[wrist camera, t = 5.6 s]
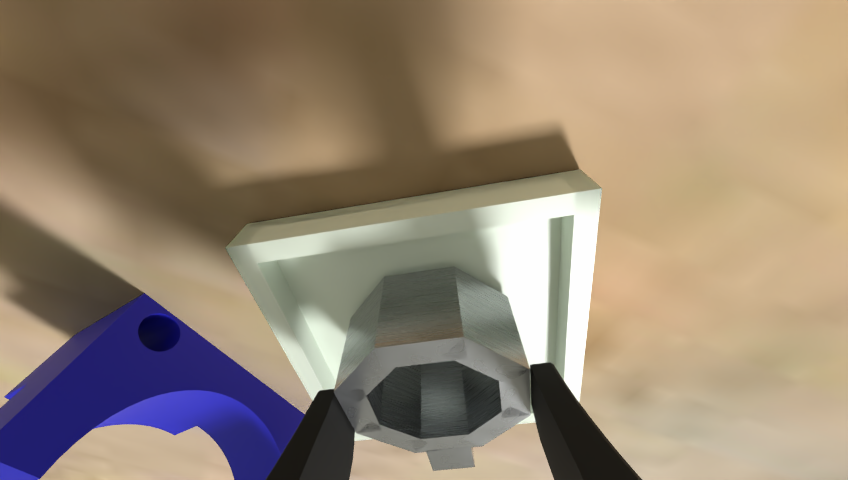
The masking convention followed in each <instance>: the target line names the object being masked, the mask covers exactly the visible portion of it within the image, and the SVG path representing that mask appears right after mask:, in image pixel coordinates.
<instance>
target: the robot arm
mask: <svg viewBox="0 0 848 480" xmlns="http://www.w3.org/2000/svg"><path fill="white" fill-rule="evenodd" d="M530 381H531V405H532V409H533V413H534V417H535V421H536V425H537V429H538V433H539V437H540V440H541V443H542V446H543V449H544V452H545V455H546V457H547V460H548V463H549V466H550V469H551V472H552V474H553V477H554V480H642V479H641V478H640V477H639V476H638V475H637V474H636V472H635V471H634V470H633V469H632V468H631V467H630V465H629V464H628V463H627V462H626V461H625V460H624V458H623V457H622V456H621V455H620V454H619V453H618V451H617V450H616V449H615V448H614V447H613V445H612V444H611V443H610V442H609V441H608V439H607V438H606V437H605V436H604V434H603V433H602V432H601V431H600V429H599V428H598V427H597V425H596V424H595V423H594V422H593V420H592V419H591V418H590V417H589V415H588V414H587V413H586V411H585V410H584V409H583V407H582V406H581V404H580V403H579V402H578V400H577V399H576V398H575V396H574V395H573V393H572V392H571V390H570V389H569V388H568V386H567V385H566V383H565V382H564V380H563V379H562V377H561V375H560V374H559V372H558V371H557V369H556V367H555V366H554V364H552V363H551V362H548V363H540V364H532V365H530ZM354 438H355V430H354V428H353V426H352V424H351V423H350V421H349V419H348V417H347V415H346V414H345V412H344V410H343V408H342V406H341V405H340V403H339V401H338V399H337V397H336V395H335V394H334V389H328V390H320V391H319V392H318V393H317V395H316V396H315V398H314V400H313V402H312V403H311V405H310V407H309V409H308V410H307V412H306V414H305V416H304V417H303V419H302V421H301V423H300V424H299V426H298V428H297V429H296V431H295V433H294V434H293V436H292V438H291V440H290V441H289V443H288V444H287V446H286V448H285V449H284V451H283V453H282V454H281V456H280V457H279V459H278V461H277V462H276V464H275V466H274V467H273V469H272V470H271V472H270V473H269V475H268V476H267V478H266V479H265V480H349V477H350V472H351V466H352V460H353V450H354Z"/></svg>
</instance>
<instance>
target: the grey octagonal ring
mask: <svg viewBox="0 0 848 480" xmlns="http://www.w3.org/2000/svg"><path fill="white" fill-rule="evenodd" d="M452 360H454V361H452ZM444 361H447V362H444ZM436 362H439V363H436ZM428 363H431V364H428ZM421 364H423V365H421ZM334 394H335V395H336V397H337V399H338V401H339V403H340V405H341V406H342V408H343V410H344V412H345V414H346V415H347V417H348V419H349V421H350V423H351V424H352V426H353V428H354V430H355V432H356V433H357V434H360V435H363V436H366V437H369V438H372V439H375V440H378V441H381V442H384V443H387V444H390V445H393V446H396V447H399V448H402V449H405V450H408V451H411V452H414V453H419V452H427V455H428V458H429V460H430V463H431V466H432V469H433V471H436V470H447V469H457V468H468V467H475V464H474V455H473V447H480V446H483V445H485V444H487V443H488V442H490V441H491V440H493V439H494V438H496V437H497V436H499V435H501V434H502V433H504V432H505V431H507V430H508V429H510V428H511V427H513V426H515V425H516V424H518V423H519V422H521V421H522V420H524V419H525V418H527V417H529V416H530V415H531V409H530V367H529V364H528V361H527V358H526V355H525V351H524V348H523V345H522V342H521V338H520V335H519V332H518V329H517V326H516V322H515V319H514V316H513V313H512V309H511V306H510V303H509V300H508V297H507V296H506V295H504V294H502V293H500V292H499V291H497V290H495V289H493V288H492V287H490V286H488V285H486V284H485V283H483V282H481V281H479V280H478V279H476V278H474V277H472V276H470V275H469V274H467V273H465V272H463V271H462V270H460V269H458V268H456V267H455V266H453V267H446V268H439V269H432V270H425V271H418V272H412V273H405V274H398V275H391V276H384V277H383V279H382V280H381V281H380V282H379V284H378V285H377V286H376V287H375V289H374V290H373V291H372V292H371V293H370V295H369V296H368V297H367V298H366V300H365V301H364V302H363V303H362V305H361V306H360V307H359V308H358V310H357V311H356V312H355V313H354V314H353V316H352V317H351V319H350V323H349V328H348V332H347V336H346V341H345V345H344V349H343V354H342V358H341V362H340V367H339V371H338V375H337V380H336V384H335V388H334Z"/></svg>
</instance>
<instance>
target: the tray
mask: <svg viewBox="0 0 848 480" xmlns="http://www.w3.org/2000/svg"><path fill="white" fill-rule="evenodd" d="M601 193H602V188H601V187H600V186H599V185H598V184H596V183H595V182H594V181H593V180H592V179H591V178H590V177H588V176H587V175H586V174H585V173H584V172H583V171H582V170H580V169H579V170H573V171H567V172H561V173H555V174H549V175H542V176H536V177H530V178H524V179H518V180H512V181H506V182H500V183H494V184H487V185H481V186H475V187H469V188H463V189H457V190H451V191H445V192H439V193H432V194H426V195H420V196H414V197H408V198H402V199H396V200H390V201H384V202H377V203H371V204H365V205H359V206H353V207H347V208H341V209H335V210H329V211H322V212H316V213H310V214H304V215H298V216H292V217H286V218H280V219H273V220H267V221H261V222H255V223H249V224H246V225H245V227H244V228H243V229H242V230H241V231H240V232H239V233H238V234H237V235H236V237H235V238H234V239H233V240H232V241H231V242H230V243H229V244H228V245H227V246H226V250H227V252H228V254H229V255H230V257H231V259H232V261H233V262H234V264H235V266H236V268H237V269H238V271H239V273H240V275H241V276H242V278H243V280H244V282H245V283H246V285H247V287H248V289H249V290H250V292H251V294H252V296H253V297H254V299H255V301H256V303H257V304H258V306H259V308H260V310H261V311H262V313H263V315H264V317H265V318H266V320H267V322H268V324H269V325H270V327H271V329H272V331H273V332H274V334H275V336H276V338H277V339H278V341H279V343H280V345H281V346H282V348H283V350H284V352H285V353H286V355H287V357H288V359H289V360H290V362H291V364H292V366H293V367H294V369H295V371H296V373H297V374H298V376H299V378H300V380H301V381H302V383H303V385H304V387H305V388H306V390H307V392H308V394H309V395H310V397H311V399H312V401H313V400H314V398H315V396H316V395H317V393H318V392H319V391H320V390H328V389H334V388H335V384H336V380H337V375H338V371H339V367H340V362H341V358H342V354H343V349H344V345H345V341H346V336H347V332H348V328H349V323H350V319H351V317H352V316H353V314H354V313H355V312H356V311H357V310H358V308H359V307H360V306H361V305H362V303H363V302H364V301H365V300H366V298H367V297H368V296H369V295H370V293H371V292H372V291H373V290H374V289H375V287H376V286H377V285H378V284H379V282H380V281H381V280H382V279H383V277H384V276H391V275H398V274H405V273H412V272H418V271H425V270H432V269H439V268H446V267H453V266H455V267H456V268H458V269H460V270H462V271H463V272H465V273H467V274H469V275H470V276H472V277H474V278H476V279H478V280H479V281H481V282H483V283H485V284H486V285H488V286H490V287H492V288H493V289H495V290H497V291H499V292H500V293H502V294H504V295H506V296H507V297H508V300H509V303H510V306H511V309H512V313H513V316H514V319H515V322H516V326H517V329H518V332H519V335H520V338H521V342H522V345H523V348H524V351H525V355H526V358H527V361H528V364H529V367H530V365H532V364H540V363H548V362H551V363H552V364H554V366H555V367H556V369H557V371H558V372H559V374H560V375H561V377H562V379H563V380H564V382H565V383H566V385H567V386H568V388H569V389H570V390H571V392H572V393H573V395H574V396H575V398H576V399H577V400H578V402H579V401H580V391H581V382H582V372H583V363H584V354H585V344H586V335H587V325H588V316H589V306H590V297H591V287H592V278H593V268H594V259H595V250H596V240H597V231H598V221H599V212H600V202H601ZM452 361H454V360H452ZM444 362H447V361H444ZM436 363H439V362H436ZM428 364H431V363H428ZM421 365H423V364H421ZM530 409H531V415H530V416H529V417H527V418H525V419H524V420H522V421H521V422H519V423H518V424H524V423H534V422H536V421H535V417H534V413H533V409H532V405H531V381H530ZM369 439H372V438H369V437H366V436H363V435H360V434H357V433H356V432H355V438H354V441H359V440H369Z"/></svg>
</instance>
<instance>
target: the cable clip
mask: <svg viewBox="0 0 848 480" xmlns="http://www.w3.org/2000/svg"><path fill="white" fill-rule="evenodd" d="M5 398H7V399H9V401H8V402H7V403H6V404H4V405H3V406H2V407H1V408H0V480H38V479H40V478H41V477H42V476H43V475H44V474H45V473H46V471H47V470H48V469H49V468H50V467H51V466H52V465H53V464H54V463H55V462H56V461H57V459H58V458H60V457H61V456H62V455H63V454H64V453H65V452H66V451H67V450H68V449H69V448H70V447H71V446H72V445H73V444H75V443H76V442H77V441H78V440H79V439H81V438H82V437H83V436H84V435H86V434H87V433H88V432H89V431H91V430H92V429H94V428H98V427H104V426H110V425H120V424H139V425H146V426H151V427H155V428H159V429H162V430H164V431H167V432H169V433H171V434H173V435H176V434H178V433H181V432H183V431H185V430H188V429H190V428H193V427H195V426H198V427H200V428H201V429H202V430H204V431H205V432H206V433H207V434H209V435H210V436H211V437H212V438H213V439H214V441H215V442H216V443H217V444H218V445H219V447H220V448H221V449H222V451H223V453H224V455H225V456H226V458H227V460H228V462H229V465H230V467H231V470H232V473H233V476H234V480H265V479H266V478H267V476H268V475H269V473H270V472H271V470H272V469H273V467H274V466H275V464H276V462H277V461H278V459H279V457H280V456H281V454H282V453H283V451H284V449H285V448H286V446H287V444H288V443H289V441H290V440H291V438H292V436H293V434H294V433H295V431H296V429H297V428H298V426H299V424H300V423H301V421H302V419H303V417H304V416H305V414H303V413H302V412H301V411H299V410H298V409H297V408H295V407H294V406H293V405H291V404H290V403H289V402H287V401H286V400H285V399H283V398H282V397H281V396H279V395H278V394H277V393H276V392H274V391H273V390H272V389H270V388H269V387H268V386H266V385H265V384H264V383H262V382H261V381H260V380H258V379H257V378H256V377H254V376H253V375H252V374H250V373H249V372H248V371H247V370H245V369H244V368H243V367H241V366H240V365H239V364H237V363H236V362H235V361H233V360H232V359H231V358H229V357H228V356H227V355H225V354H224V353H223V352H221V351H220V350H219V349H217V348H216V347H215V346H214V345H212V344H211V343H210V342H208V341H207V340H206V339H204V338H203V337H202V336H200V335H199V334H198V333H196V332H195V331H194V330H192V329H191V328H190V327H188V326H187V325H186V324H185V323H183V322H182V321H181V320H179V319H178V318H177V317H175V316H174V315H173V314H171V313H170V312H169V311H167V310H166V309H165V308H163V307H162V306H161V305H159V304H158V303H157V302H156V301H154V300H153V299H152V298H150V297H149V296H148V295H146V294H145V293H144V294H142V295H140V296H139V297H137V298H135V299H134V300H132V301H130V302H129V303H127V304H126V305H124V306H122V307H121V308H119V309H117V310H116V311H114V312H112V313H111V314H109V315H107V316H106V317H104V318H102V319H101V320H99V321H97V322H96V323H94V324H92V325H91V326H89V327H87V328H86V329H84V330H82V331H81V332H79V333H77V334H76V335H74V336H73V337H72V338H71V339H70V340H68V341H67V342H66V343H65V344H64V345H63V346H62V347H60V348H59V349H58V350H57V351H56V352H55V353H54V354H52V355H51V356H50V357H49V358H48V359H47V360H46V361H44V362H43V363H42V364H41V365H40V366H39V367H38V368H37V369H35V370H34V371H33V372H32V373H31V374H30V375H29V376H27V377H26V378H25V379H24V380H23V381H22V382H21V383H19V384H18V385H17V386H16V387H15V388H14V389H13V390H11V391H10V392H9V393H8V394H7V395H6V396H5Z"/></svg>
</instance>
